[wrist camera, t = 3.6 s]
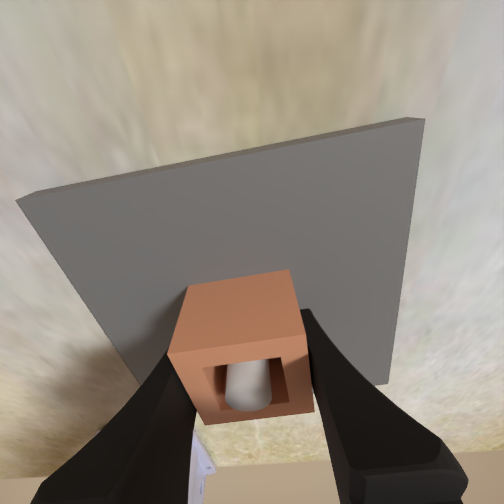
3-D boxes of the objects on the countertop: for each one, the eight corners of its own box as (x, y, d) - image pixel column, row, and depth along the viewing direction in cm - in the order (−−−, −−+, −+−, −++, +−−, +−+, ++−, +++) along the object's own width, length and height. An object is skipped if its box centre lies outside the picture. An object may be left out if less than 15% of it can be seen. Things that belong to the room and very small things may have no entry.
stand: (379, 367, 18) (429, 466, 13) (163, 396, 19) (135, 496, 14) (407, 117, 10) (557, 130, 5) (35, 191, 11) (-124, 259, 6)
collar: (298, 339, 15) (314, 412, 11) (214, 351, 15) (204, 425, 12) (288, 269, 12) (306, 334, 9) (188, 285, 13) (167, 354, 9)
